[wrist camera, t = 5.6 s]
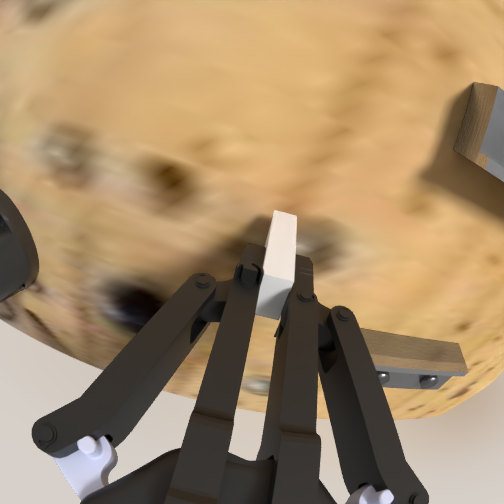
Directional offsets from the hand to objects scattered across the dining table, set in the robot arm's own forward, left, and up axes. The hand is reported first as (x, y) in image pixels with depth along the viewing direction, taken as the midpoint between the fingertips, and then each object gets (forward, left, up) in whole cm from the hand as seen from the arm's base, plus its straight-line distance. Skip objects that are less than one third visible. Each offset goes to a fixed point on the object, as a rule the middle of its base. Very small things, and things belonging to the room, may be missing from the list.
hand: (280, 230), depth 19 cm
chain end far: (+17, -12, -2) cm, 21 cm away
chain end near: (+17, +12, -2) cm, 21 cm away
